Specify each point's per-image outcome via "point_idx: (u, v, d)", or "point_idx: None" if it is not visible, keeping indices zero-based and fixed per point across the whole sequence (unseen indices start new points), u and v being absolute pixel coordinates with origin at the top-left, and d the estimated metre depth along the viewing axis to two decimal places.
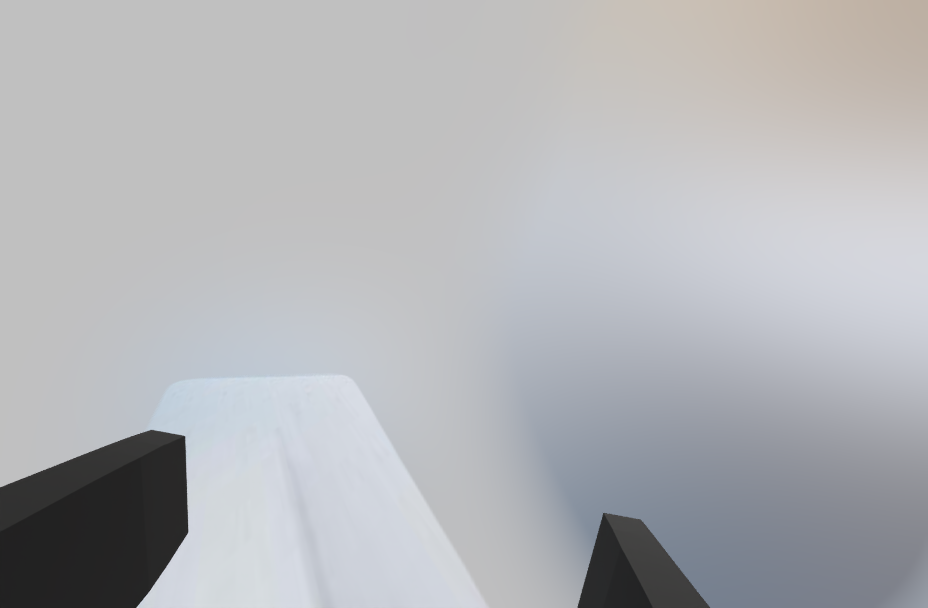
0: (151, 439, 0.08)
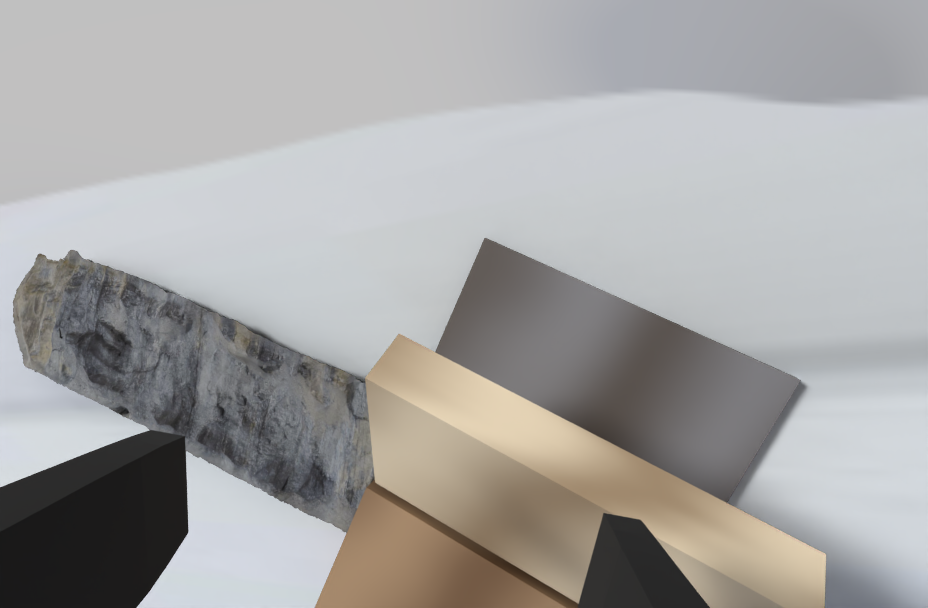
0: (151, 439, 0.08)
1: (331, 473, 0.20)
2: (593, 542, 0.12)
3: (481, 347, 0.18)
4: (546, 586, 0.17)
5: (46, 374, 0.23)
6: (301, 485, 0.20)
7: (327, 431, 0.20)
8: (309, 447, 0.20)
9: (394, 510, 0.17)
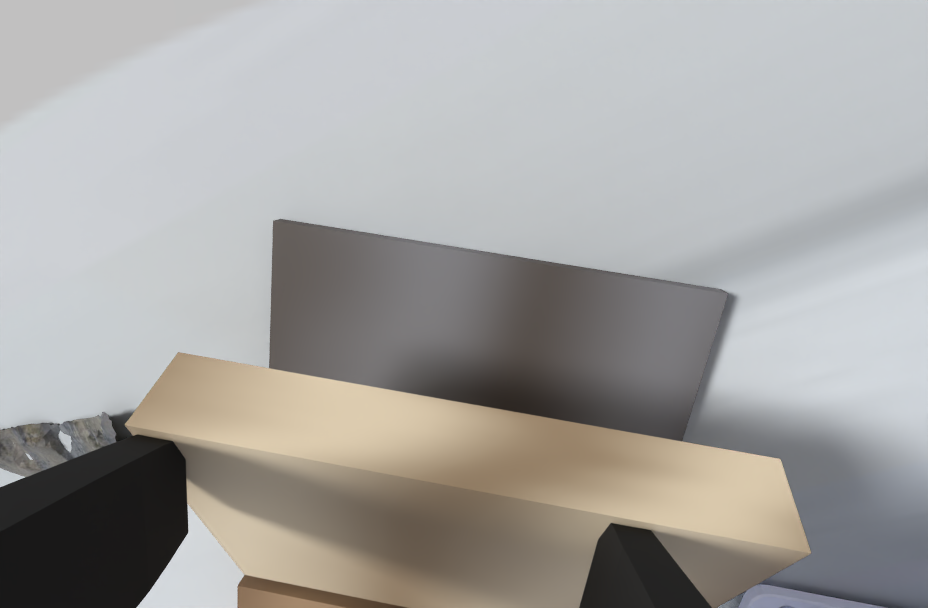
0: (151, 439, 0.08)
1: None
2: (514, 548, 0.09)
3: (323, 366, 0.13)
4: None
5: None
6: None
7: None
8: None
9: (282, 600, 0.13)
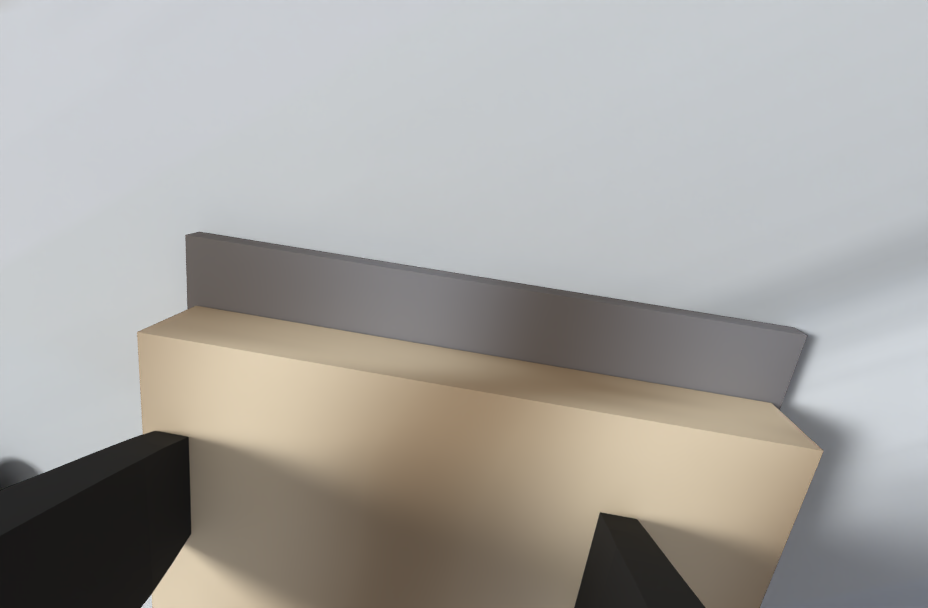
0: (155, 440, 0.08)
1: None
2: (525, 517, 0.08)
3: None
4: None
5: None
6: None
7: None
8: None
9: None
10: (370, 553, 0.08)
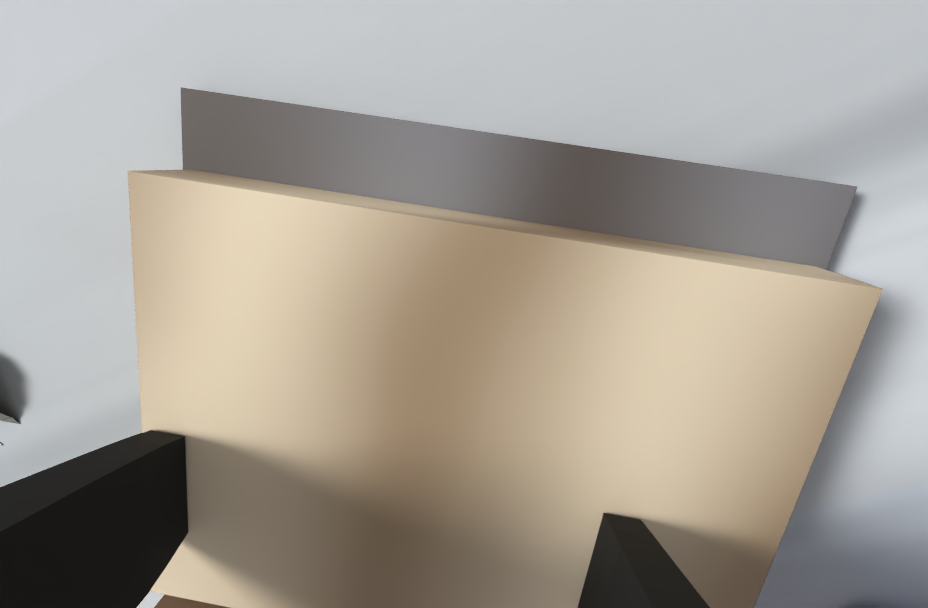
0: (151, 439, 0.08)
1: None
2: (551, 379, 0.07)
3: None
4: None
5: None
6: None
7: None
8: None
9: None
10: (381, 427, 0.08)
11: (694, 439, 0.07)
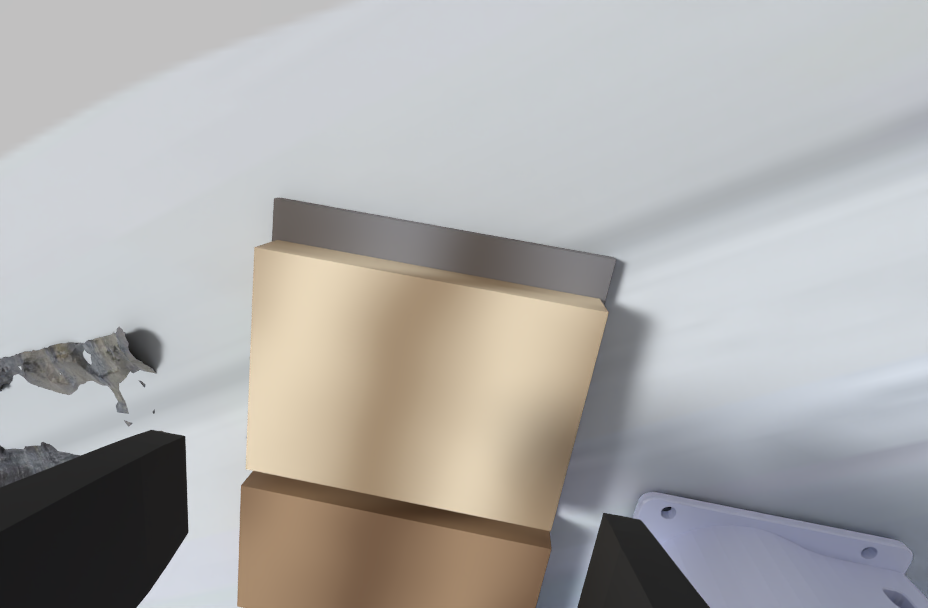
0: (151, 439, 0.08)
1: None
2: (459, 352, 0.15)
3: None
4: (441, 517, 0.17)
5: None
6: None
7: None
8: None
9: (276, 497, 0.17)
10: (375, 376, 0.15)
11: (529, 383, 0.15)
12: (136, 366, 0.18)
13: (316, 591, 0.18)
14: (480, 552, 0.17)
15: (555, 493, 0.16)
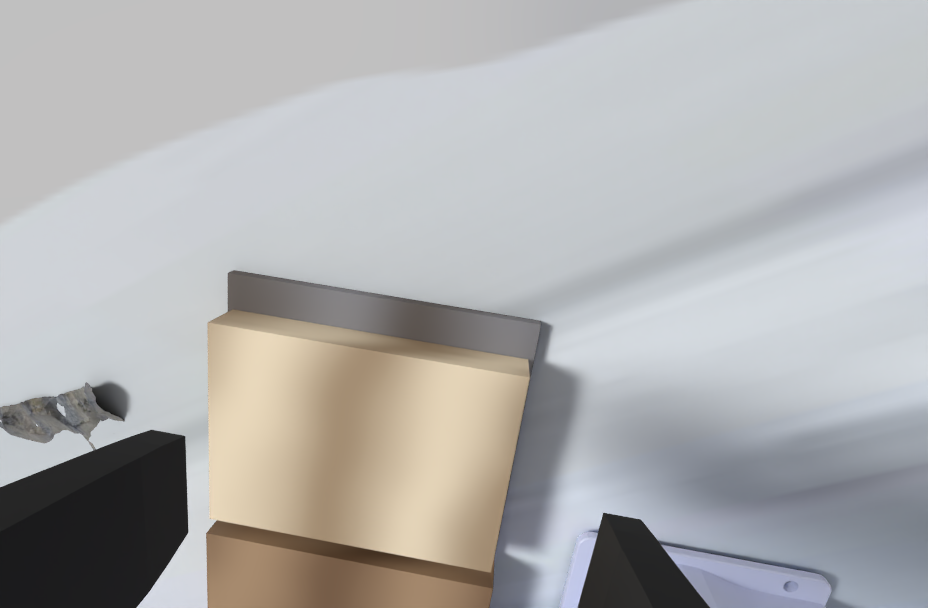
0: (151, 439, 0.08)
1: None
2: (397, 413, 0.16)
3: None
4: (392, 559, 0.19)
5: None
6: None
7: None
8: None
9: (239, 543, 0.18)
10: (322, 435, 0.17)
11: (463, 441, 0.16)
12: (106, 416, 0.20)
13: None
14: (428, 592, 0.18)
15: (493, 539, 0.17)
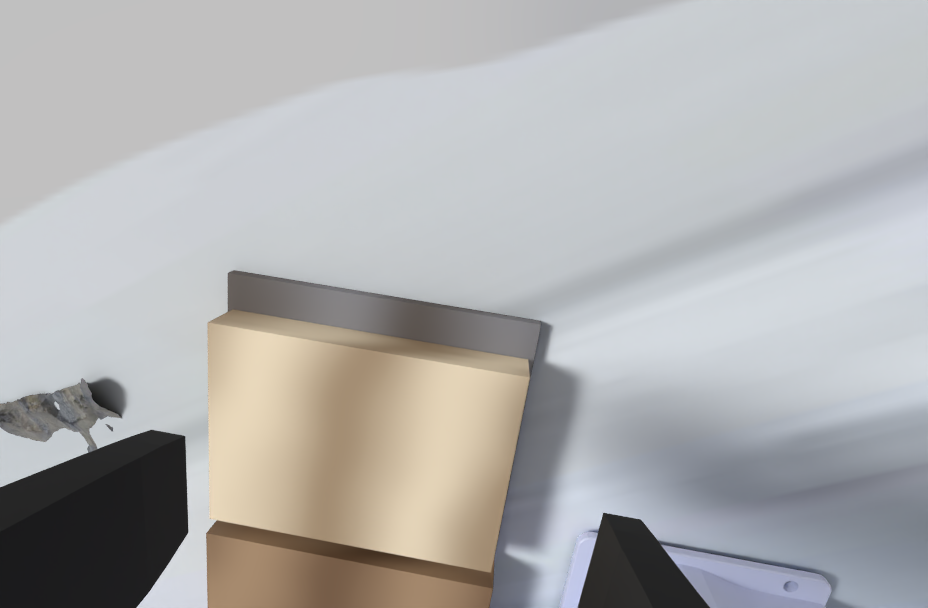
0: (151, 439, 0.08)
1: None
2: (397, 413, 0.16)
3: None
4: (392, 559, 0.19)
5: None
6: None
7: None
8: None
9: (239, 543, 0.18)
10: (322, 435, 0.17)
11: (463, 441, 0.16)
12: (102, 412, 0.20)
13: None
14: (428, 592, 0.18)
15: (493, 539, 0.17)
